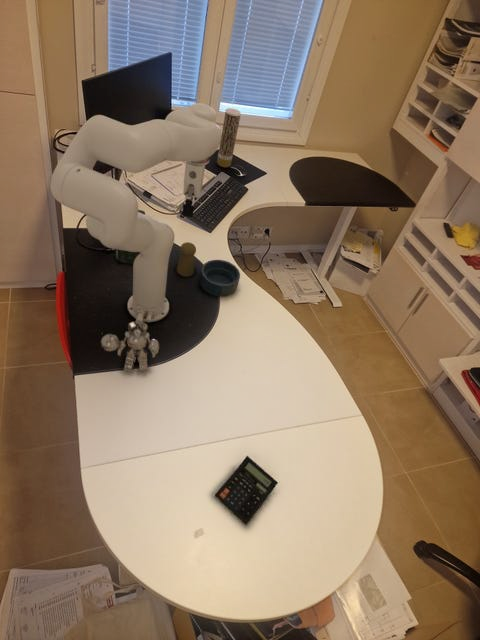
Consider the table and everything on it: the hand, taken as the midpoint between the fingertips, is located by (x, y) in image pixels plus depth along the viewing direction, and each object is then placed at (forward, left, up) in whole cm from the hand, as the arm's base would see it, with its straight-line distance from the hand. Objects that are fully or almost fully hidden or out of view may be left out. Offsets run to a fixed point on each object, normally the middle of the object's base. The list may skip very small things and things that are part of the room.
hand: (189, 207), depth 126 cm
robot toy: (-43, +9, -25) cm, 51 cm away
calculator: (-74, -24, -25) cm, 82 cm away
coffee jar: (+1, +18, -25) cm, 30 cm away
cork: (-1, -1, -25) cm, 25 cm away
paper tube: (+81, -10, -25) cm, 85 cm away
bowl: (-5, -13, -24) cm, 28 cm away
